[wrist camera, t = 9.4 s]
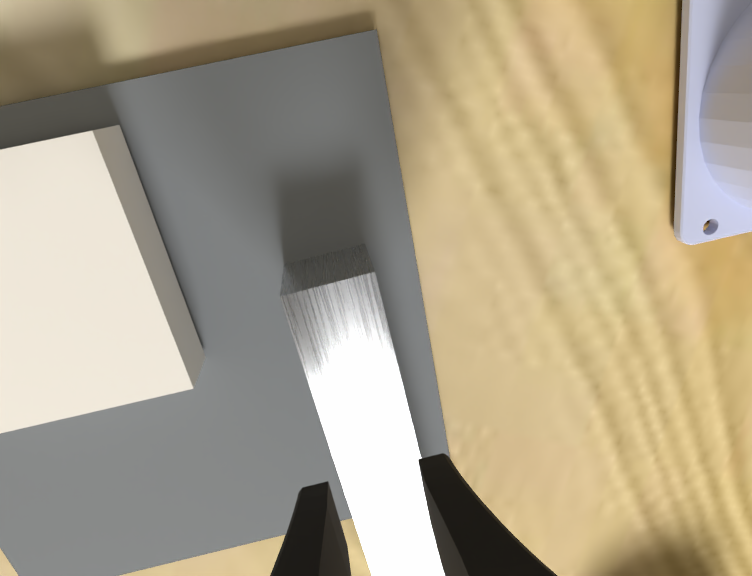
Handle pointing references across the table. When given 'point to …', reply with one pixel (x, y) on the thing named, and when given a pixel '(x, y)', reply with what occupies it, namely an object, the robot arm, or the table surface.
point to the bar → (362, 406)
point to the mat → (224, 308)
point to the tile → (85, 285)
